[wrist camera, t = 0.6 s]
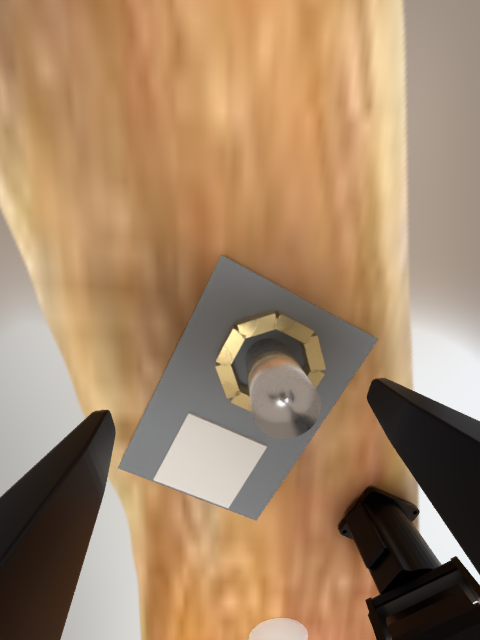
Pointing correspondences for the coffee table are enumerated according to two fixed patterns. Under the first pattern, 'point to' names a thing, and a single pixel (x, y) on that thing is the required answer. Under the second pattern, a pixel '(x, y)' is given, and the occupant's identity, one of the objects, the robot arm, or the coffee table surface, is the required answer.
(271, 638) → the hook
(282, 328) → the brass octagonal ring
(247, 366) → the peg
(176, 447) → the mat
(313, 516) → the coffee table surface
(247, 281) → the board
